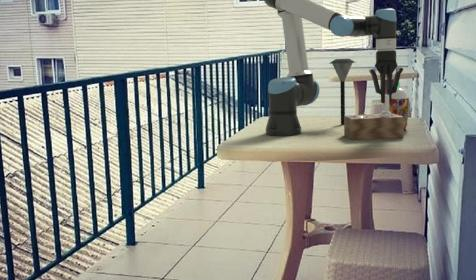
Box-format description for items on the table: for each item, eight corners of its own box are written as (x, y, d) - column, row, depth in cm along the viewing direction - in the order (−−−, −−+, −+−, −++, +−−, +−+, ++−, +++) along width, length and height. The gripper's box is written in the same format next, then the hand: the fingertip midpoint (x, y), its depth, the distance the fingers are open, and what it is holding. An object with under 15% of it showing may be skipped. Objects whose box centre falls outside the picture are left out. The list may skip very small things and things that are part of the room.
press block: (352, 140, 202) (351, 119, 200) (344, 135, 214) (344, 115, 212) (403, 137, 203) (403, 116, 201) (393, 133, 214) (393, 113, 213)
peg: (382, 132, 206) (382, 112, 205) (379, 131, 210) (379, 111, 209) (392, 132, 206) (392, 112, 205) (389, 130, 210) (389, 111, 209)
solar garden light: (357, 126, 238) (356, 58, 233) (329, 126, 239) (328, 59, 235) (355, 122, 249) (355, 58, 245) (329, 123, 251) (328, 59, 247)
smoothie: (409, 131, 218) (410, 82, 214) (388, 131, 219) (389, 82, 216) (407, 128, 226) (408, 81, 222) (387, 128, 227) (387, 81, 224)
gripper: (372, 51, 199) (372, 113, 203) (406, 49, 199) (406, 111, 203) (366, 51, 206) (366, 111, 210) (399, 49, 207) (399, 109, 211)
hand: (386, 111), depth 207 cm, fingers closed
